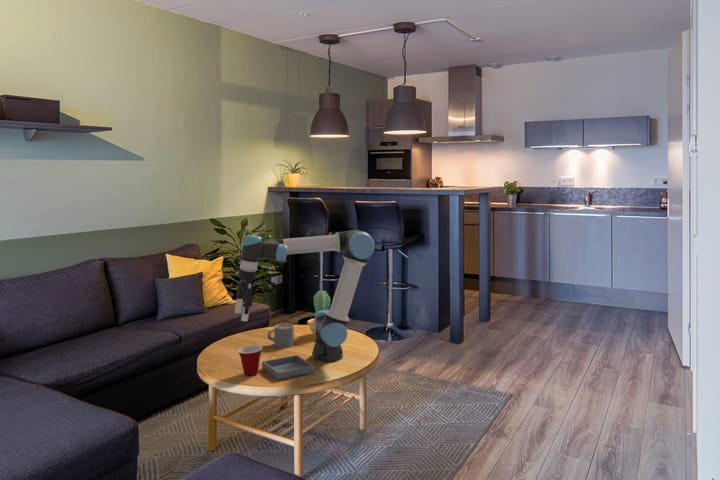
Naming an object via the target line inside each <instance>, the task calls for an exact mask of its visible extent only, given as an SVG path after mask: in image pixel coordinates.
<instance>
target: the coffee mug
mask: <svg viewBox="0 0 720 480" xmlns="http://www.w3.org/2000/svg"><path fill="white" fill-rule="evenodd" d="M272 333H273V334H274V335H273V337H271V334H272ZM267 337H268V340H270V341H272V342H274V346H275V347H277V348H283V349H286V348H291V347H293V346H295V325H294V324H291V323H279V324H275V325H274V328H272V329H271V328H270V329H269V330H268V332H267Z"/></svg>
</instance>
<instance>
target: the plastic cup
mask: <svg viewBox="0 0 720 480" xmlns="http://www.w3.org/2000/svg"><path fill="white" fill-rule="evenodd" d="M262 350H263V346H262V345H257V344H254V345H252V344H251V345H246V346H243V347H239V348H238V349H237V353H239V357H240V360H241V366H242V369H243V374H244V376H246V377H255V376H257V375H258V372H259V366H260V360H261V355H262Z"/></svg>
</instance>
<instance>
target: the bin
mask: <svg viewBox="0 0 720 480" xmlns="http://www.w3.org/2000/svg"><path fill="white" fill-rule="evenodd" d="M261 368H262V370H263V371H265V372H266V373H267V374H268V375H270V376H271V377H273V378H274V379H275V380H276V381H283V380H287V379H289V380H290V379H294V378H299V377H304V376H307V375H313V374H315V365H314V364H313V363H312V362H309V361H308V360H305V359H304V358H303V357H301V356H299V355H298V354H295V355H288V356H285V357H279V358H273V359H268V360H263V361H261Z"/></svg>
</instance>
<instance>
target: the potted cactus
mask: <svg viewBox="0 0 720 480" xmlns="http://www.w3.org/2000/svg"><path fill="white" fill-rule="evenodd" d="M313 307H314V318H310V319H309V320H307V322H306V323H307V325H308V326H309V329H310V331H311V332H312V334H313V337H315V338H316V319H315V317H316V312H318V311H322V310H330V307H331V297H330V296H329V294H328V293H327V291H326V290H318V291H317V292H316V293H315V295H314V296H313Z"/></svg>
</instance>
